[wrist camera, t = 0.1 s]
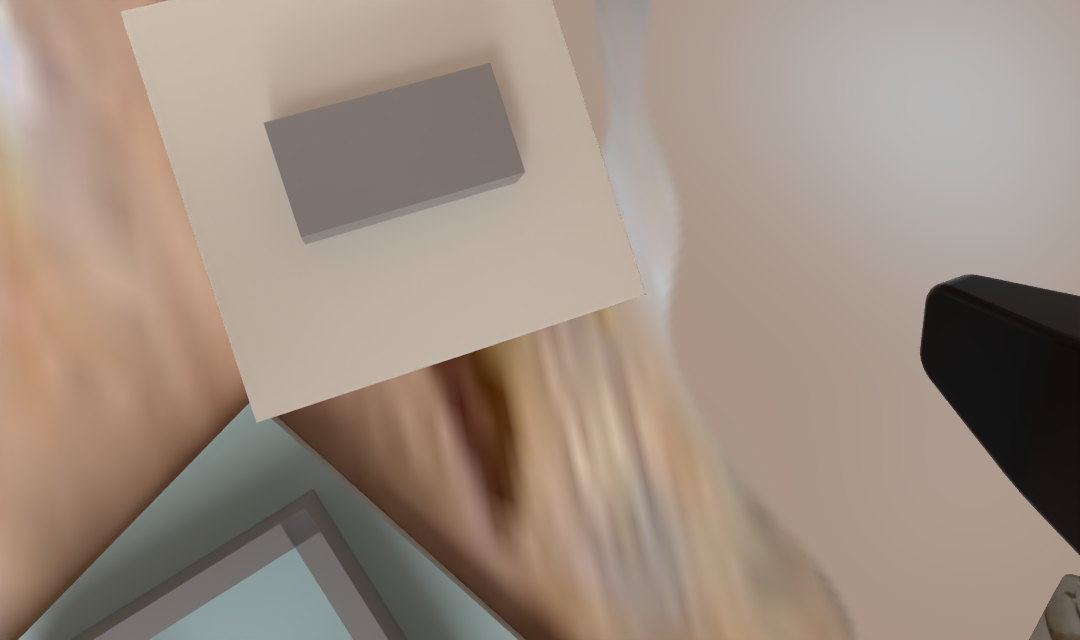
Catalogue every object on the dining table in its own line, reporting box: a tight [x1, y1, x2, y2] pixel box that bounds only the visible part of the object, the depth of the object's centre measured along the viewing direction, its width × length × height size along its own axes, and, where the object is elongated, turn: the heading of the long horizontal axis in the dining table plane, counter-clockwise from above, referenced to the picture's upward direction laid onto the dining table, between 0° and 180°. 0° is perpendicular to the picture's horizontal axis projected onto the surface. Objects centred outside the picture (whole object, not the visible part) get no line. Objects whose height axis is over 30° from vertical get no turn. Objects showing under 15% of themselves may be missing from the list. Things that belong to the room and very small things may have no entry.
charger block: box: [121, 0, 646, 423], centre depth 16 cm, size 4×4×14 cm
